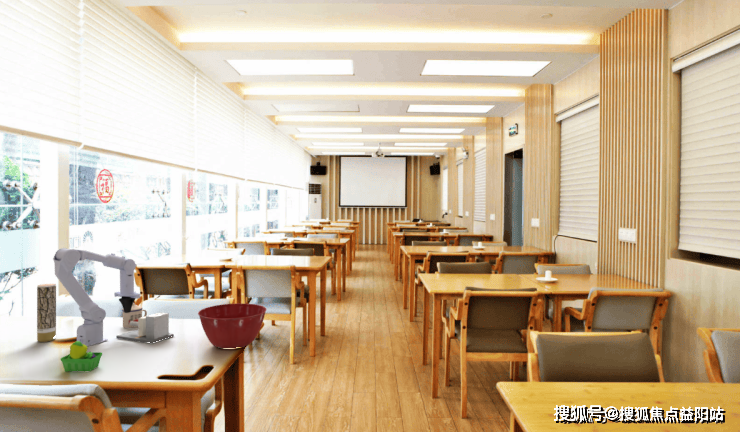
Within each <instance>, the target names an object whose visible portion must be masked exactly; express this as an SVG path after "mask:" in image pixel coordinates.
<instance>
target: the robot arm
mask: <svg viewBox="0 0 740 432" xmlns="http://www.w3.org/2000/svg"><path fill="white" fill-rule="evenodd" d="M52 260H53V263H54V275H55V277H56V278H57V279H58V280H59V283H61V285H62V286H63V287H64V288H65V290H66V291H67V292H68V293H69V295H70V296H71V297H72V299H73V300H74V301H75V303H76V304H77V305H78V310H79V311H80V315H81V317H82V319H83V320H84V321H83V323H82V324H81V325H78V326H77V328H76V341H80V342H81V343H82V344H84V345H86V346H87V347H90V346H93V345H97V344H100V343H103V342H107V341H108V338H104V320H105V318H106V316H107V315H106V314H107V313H106V310H105V309H104V308H102V307H100V306H99V304H97V303H96V302H95V301H93V299H92V298H91V297H90V295H89V294H88V293H87V292H86V290H85V289H84V288H83V286H82V285H81V283H80V282H79V281H78V279H77V278H76V277H75V275H74V274H73V273H72V272H73V270H74V268H75V266H76V265H77V264H78V263H79V261H85V260H89V261H94V262H97V263H101V264H102V265H103V266H104V267H106V268H111V269H116V270H119V291H116V292H115V291H114V297H115V298H116V297H120V298H118V301H119V302H120V304H121V305H122V310H123V309H124V312H125V313H129V312H131V308H132V304H133V303H135V300H137V299H141V293H137V292H136V291H135V276H134V275H135V269H136V267H137V264H136V261H135V260H134V259H132V258H126V256H119V255H116V254H115V253H107V254H106V255H102V254H99V253H95V252H91V251H90V250H89V251H88V250H84V249H75V248H66V247H63V248H62V247H61V248H59V249H58V250H56V251H55V254H54V255H53V258H52Z"/></svg>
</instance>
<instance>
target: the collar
mask: <svg viewBox="0 0 740 432" xmlns="http://www.w3.org/2000/svg"><path fill="white" fill-rule="evenodd" d="M146 316H147V315H146ZM146 316H145V317H144V316H142V317H141V318H138V327H137V328H138V329H137V330H138V336H145V335H146Z"/></svg>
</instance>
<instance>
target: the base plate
mask: <svg viewBox="0 0 740 432" xmlns="http://www.w3.org/2000/svg"><path fill="white" fill-rule="evenodd" d="M171 336H174V333H171V332H169V335H167V336H164V337H161V338H158V339H155V340H153V339H147V338H146V335H145V336H138V329H135V330H131V331H128V332H125V333H121V334H116V339H119V340H125V341H131V342H137V341H140V342H139V343H144V342H150V343H153V342H156V341H159V340H162V339H165V338H168V337H171ZM171 338H172V337H171ZM168 339H169V338H168ZM165 340H166V339H165ZM162 341H163V340H162ZM159 342H160V341H159ZM150 343H149V344H150ZM156 343H157V342H156ZM153 344H154V343H153Z"/></svg>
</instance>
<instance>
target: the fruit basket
mask: <svg viewBox="0 0 740 432" xmlns="http://www.w3.org/2000/svg"><path fill="white" fill-rule="evenodd" d="M69 348H70V349H69V353H68V354H67V355H65V356H62V357H61V358H60V361H61V365H62V366H63V367H62V368H63V370H64V372H68V371H70V372H72V371H77V372H78V371H84V372H85V371H90V372H91V371H94V370H95V369H96V368H98V367H99V364H100V361H101V357H102V355H103V352H99V351H97V352H92V351H89V352H88V346H86V345H84V344H82V343H81V342H80V341H77V340H76V341H74V342H72V343H71V345H70V346H69ZM94 368H95V369H94ZM68 373H69V372H68Z"/></svg>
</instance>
